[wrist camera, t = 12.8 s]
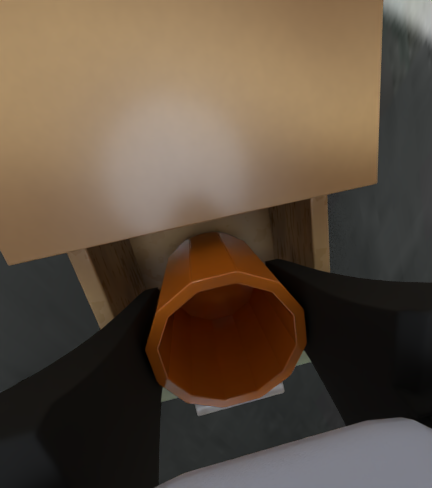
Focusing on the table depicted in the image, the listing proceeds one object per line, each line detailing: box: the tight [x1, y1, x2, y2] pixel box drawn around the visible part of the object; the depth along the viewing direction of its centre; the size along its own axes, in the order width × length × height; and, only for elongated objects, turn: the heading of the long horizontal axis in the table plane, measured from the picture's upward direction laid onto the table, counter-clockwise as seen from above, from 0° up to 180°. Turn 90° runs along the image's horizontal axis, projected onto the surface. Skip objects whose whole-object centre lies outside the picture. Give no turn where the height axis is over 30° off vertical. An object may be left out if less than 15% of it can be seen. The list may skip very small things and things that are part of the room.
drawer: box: [67, 195, 330, 416], centre depth 13 cm, size 19×12×7 cm, turn 11°
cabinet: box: [0, 0, 383, 265], centre depth 10 cm, size 16×14×9 cm
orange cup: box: [145, 232, 307, 408], centre depth 10 cm, size 5×5×5 cm
